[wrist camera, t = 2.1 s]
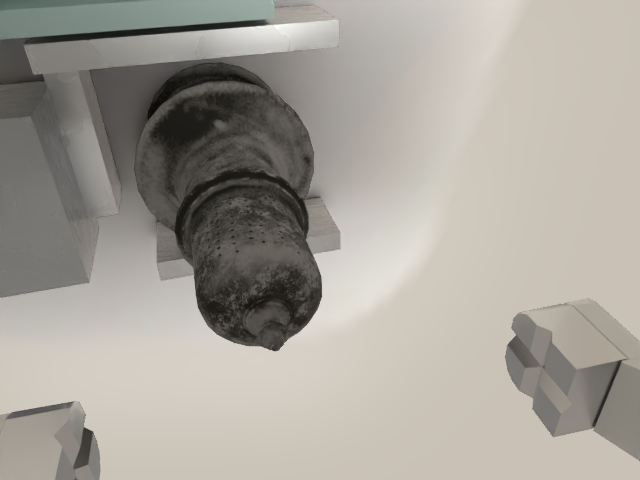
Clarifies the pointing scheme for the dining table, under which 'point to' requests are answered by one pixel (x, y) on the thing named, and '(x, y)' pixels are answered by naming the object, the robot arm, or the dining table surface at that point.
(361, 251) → the dining table surface
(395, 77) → the dining table surface
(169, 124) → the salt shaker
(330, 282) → the dining table surface
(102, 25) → the tray
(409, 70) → the dining table surface
